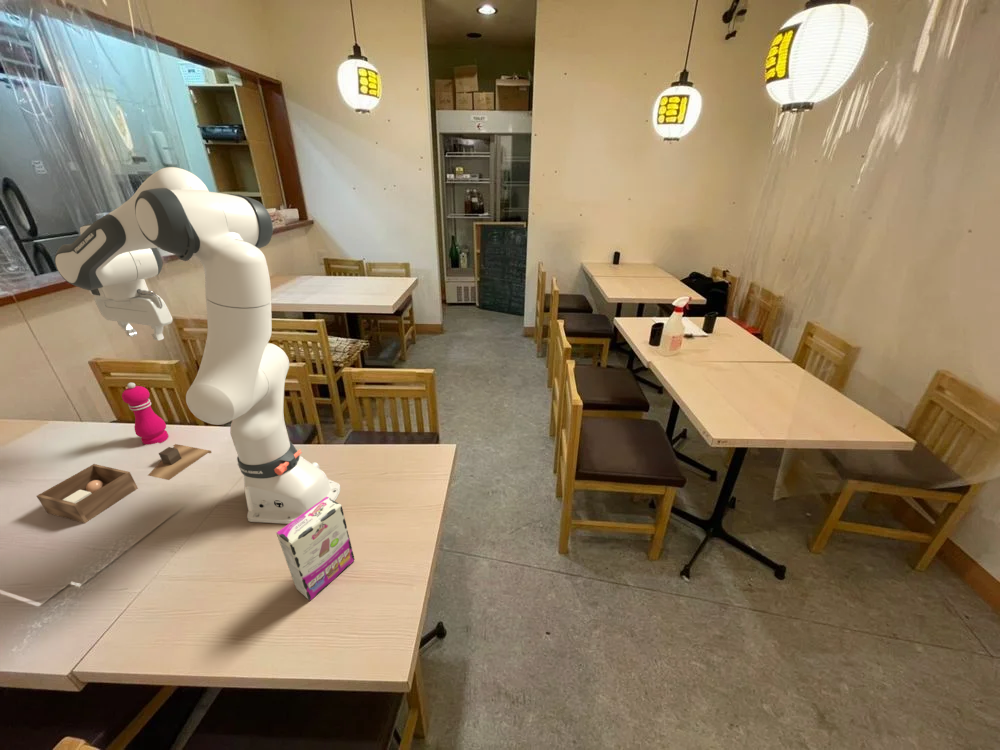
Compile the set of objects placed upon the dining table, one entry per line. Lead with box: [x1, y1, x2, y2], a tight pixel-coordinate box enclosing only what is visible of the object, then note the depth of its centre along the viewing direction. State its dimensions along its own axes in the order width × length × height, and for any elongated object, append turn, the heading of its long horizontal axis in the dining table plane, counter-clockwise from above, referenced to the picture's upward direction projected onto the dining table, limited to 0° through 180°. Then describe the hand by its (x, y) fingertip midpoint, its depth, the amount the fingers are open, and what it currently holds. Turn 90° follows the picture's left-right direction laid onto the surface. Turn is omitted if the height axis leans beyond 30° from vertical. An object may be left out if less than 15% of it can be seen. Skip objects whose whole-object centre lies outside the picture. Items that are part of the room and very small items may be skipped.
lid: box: [147, 443, 212, 481], centre depth 113 cm, size 13×13×5 cm
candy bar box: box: [275, 496, 356, 601], centre depth 79 cm, size 11×5×16 cm, turn 148°
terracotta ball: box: [86, 480, 104, 493], centre depth 102 cm, size 3×3×3 cm
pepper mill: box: [121, 382, 169, 446], centre depth 118 cm, size 7×7×20 cm
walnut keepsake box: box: [36, 463, 139, 524], centre depth 98 cm, size 12×12×6 cm
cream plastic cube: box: [63, 490, 92, 504], centre depth 97 cm, size 4×4×4 cm
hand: (145, 337), depth 110 cm, fingers open, 8 cm apart
